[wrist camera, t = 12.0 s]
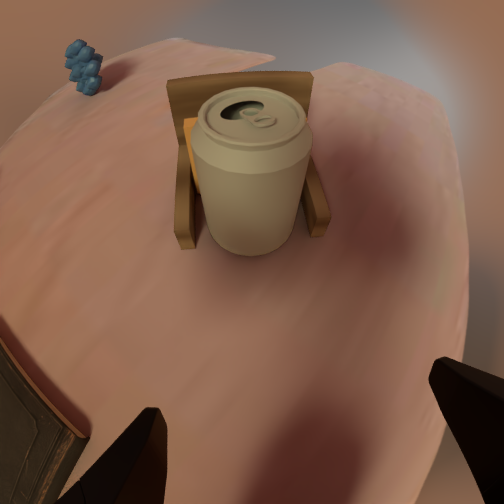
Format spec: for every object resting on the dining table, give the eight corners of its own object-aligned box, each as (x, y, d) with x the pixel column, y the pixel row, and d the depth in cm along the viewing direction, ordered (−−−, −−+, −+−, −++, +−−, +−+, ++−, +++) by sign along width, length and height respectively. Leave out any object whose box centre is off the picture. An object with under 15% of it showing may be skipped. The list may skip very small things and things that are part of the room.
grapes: (127, 86, 38) (111, 27, 28) (95, 108, 36) (73, 47, 25) (97, 79, 41) (82, 30, 31) (69, 97, 39) (50, 47, 28)
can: (260, 179, 28) (265, 71, 17) (309, 233, 25) (344, 123, 14) (193, 214, 26) (166, 103, 15) (238, 277, 23) (229, 171, 12)
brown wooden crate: (323, 236, 25) (356, 153, 16) (181, 249, 24) (148, 167, 15) (297, 150, 30) (309, 71, 21) (184, 158, 29) (167, 80, 20)
